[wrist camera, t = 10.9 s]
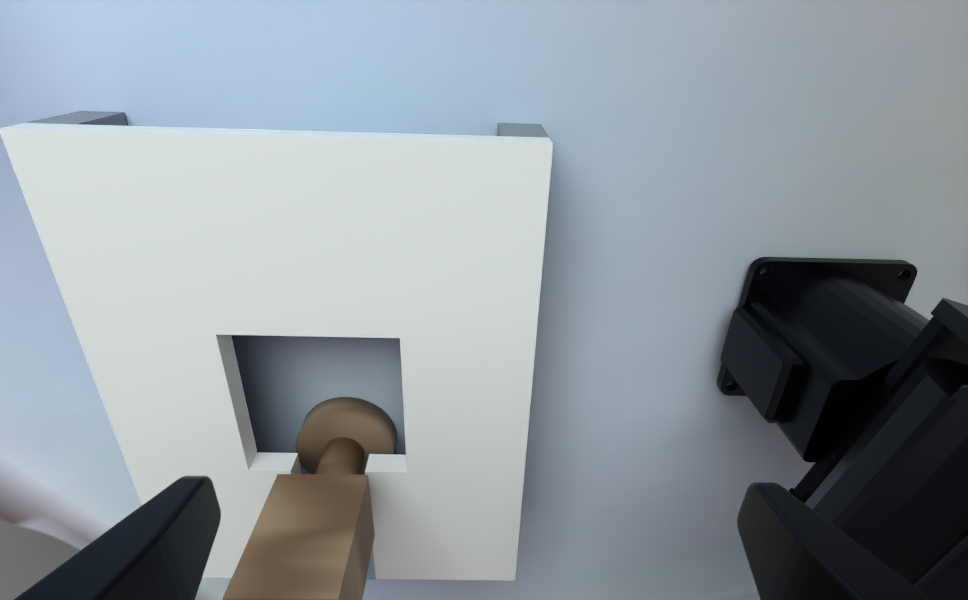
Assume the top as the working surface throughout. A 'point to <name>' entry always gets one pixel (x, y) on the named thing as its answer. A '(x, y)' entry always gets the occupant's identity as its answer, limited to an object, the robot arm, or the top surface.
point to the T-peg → (318, 511)
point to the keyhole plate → (306, 307)
